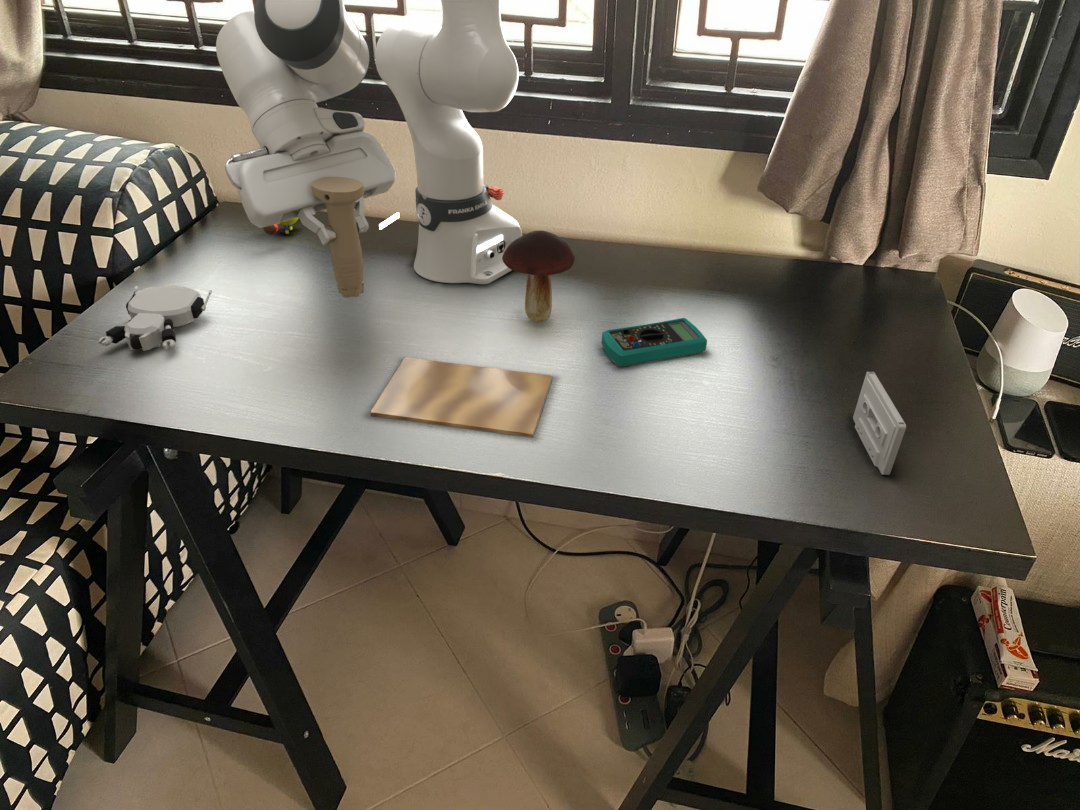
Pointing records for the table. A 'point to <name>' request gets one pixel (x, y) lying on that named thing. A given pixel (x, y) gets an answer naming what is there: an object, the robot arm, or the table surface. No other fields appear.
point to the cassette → (878, 424)
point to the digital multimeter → (653, 342)
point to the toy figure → (273, 228)
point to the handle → (343, 230)
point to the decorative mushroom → (539, 268)
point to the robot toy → (156, 316)
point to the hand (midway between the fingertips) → (347, 236)
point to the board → (465, 397)
